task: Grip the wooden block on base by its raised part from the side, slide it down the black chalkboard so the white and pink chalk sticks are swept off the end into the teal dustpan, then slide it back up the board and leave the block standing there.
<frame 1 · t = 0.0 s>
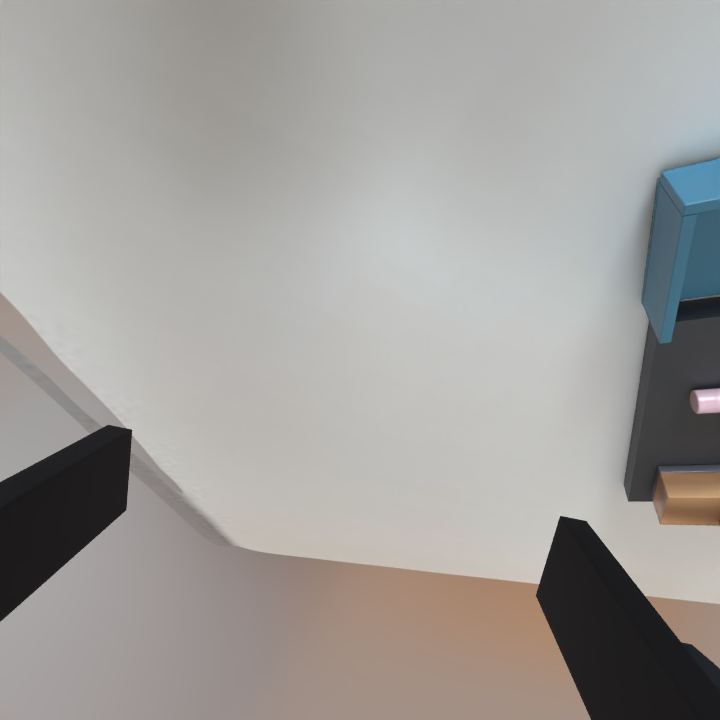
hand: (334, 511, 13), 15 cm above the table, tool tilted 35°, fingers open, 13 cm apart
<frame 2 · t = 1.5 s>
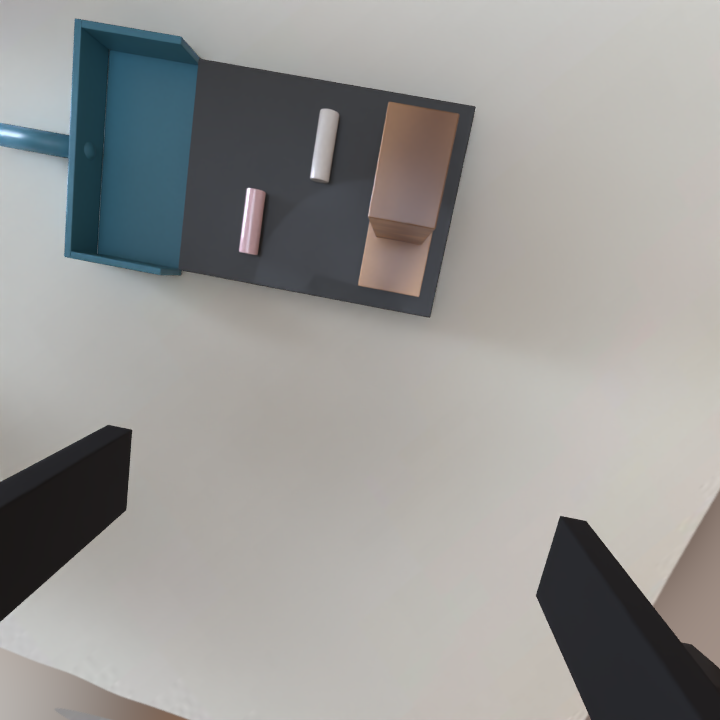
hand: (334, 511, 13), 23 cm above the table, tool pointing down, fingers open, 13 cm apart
chalk 2: (252, 222, 32), point 2 cm above the table, tilted 34°, touching chalkboard
chalkboard: (321, 196, 33), on the table
dustpan: (148, 165, 34), on the table
wooden block on base: (404, 209, 32), point 1 cm above the table, touching chalkboard
chalk 1: (324, 147, 31), point 2 cm above the table, tilted 9°, touching chalkboard
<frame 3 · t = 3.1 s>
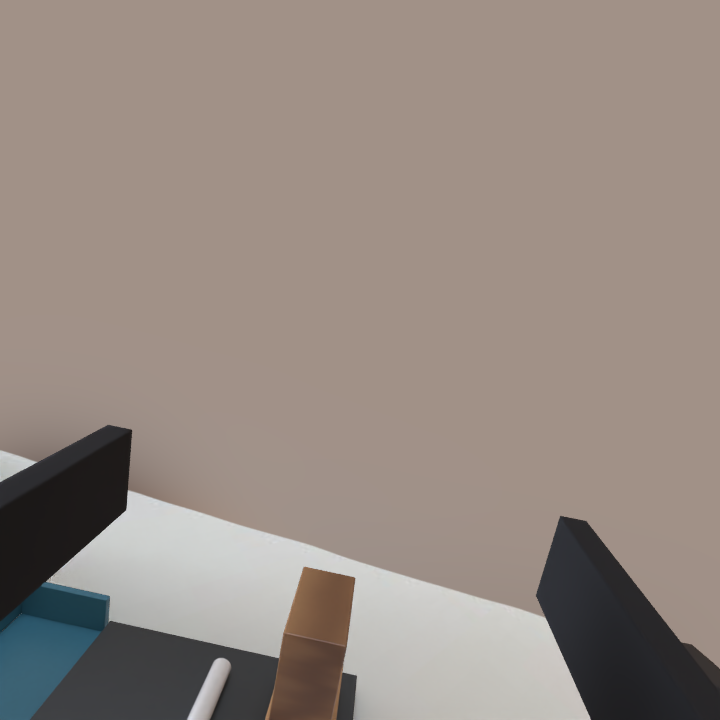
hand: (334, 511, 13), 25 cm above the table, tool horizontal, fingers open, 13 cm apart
chalk 1: (209, 695, 29), point 2 cm above the table, touching chalkboard
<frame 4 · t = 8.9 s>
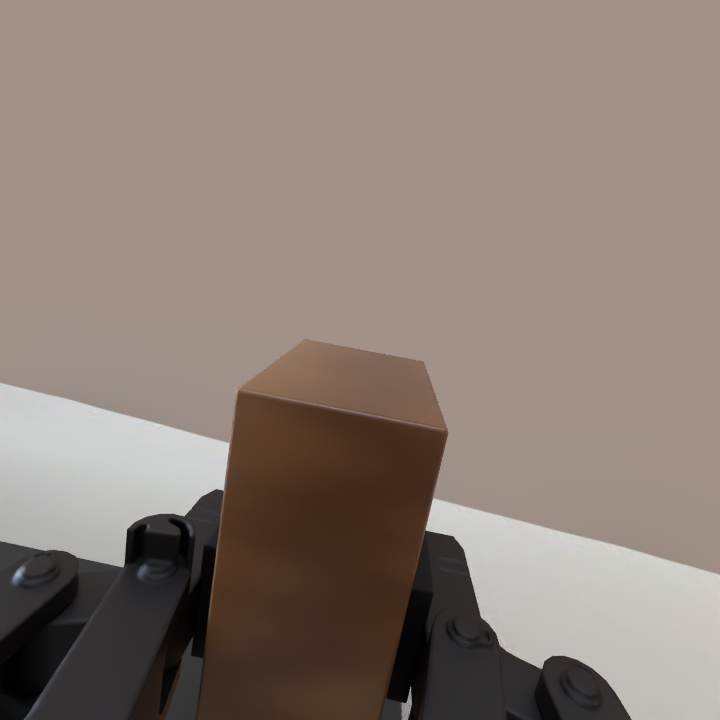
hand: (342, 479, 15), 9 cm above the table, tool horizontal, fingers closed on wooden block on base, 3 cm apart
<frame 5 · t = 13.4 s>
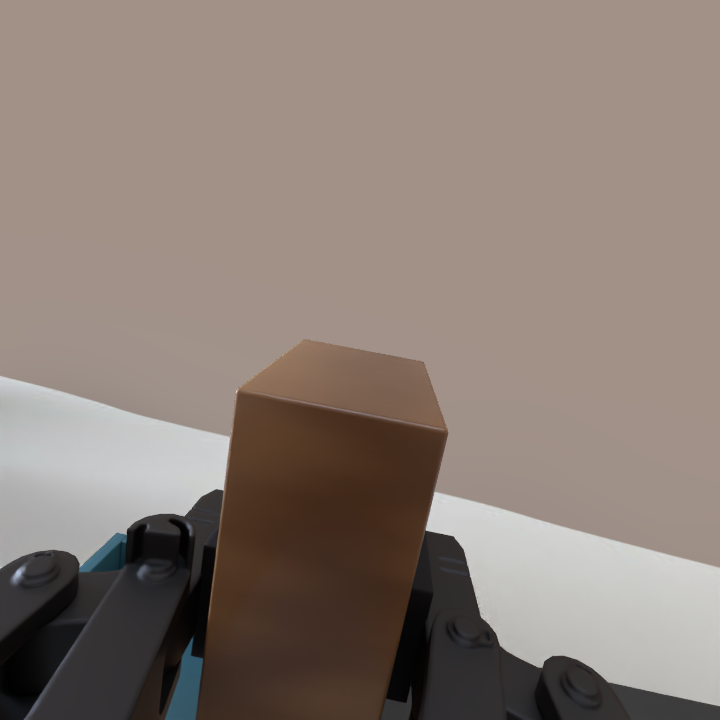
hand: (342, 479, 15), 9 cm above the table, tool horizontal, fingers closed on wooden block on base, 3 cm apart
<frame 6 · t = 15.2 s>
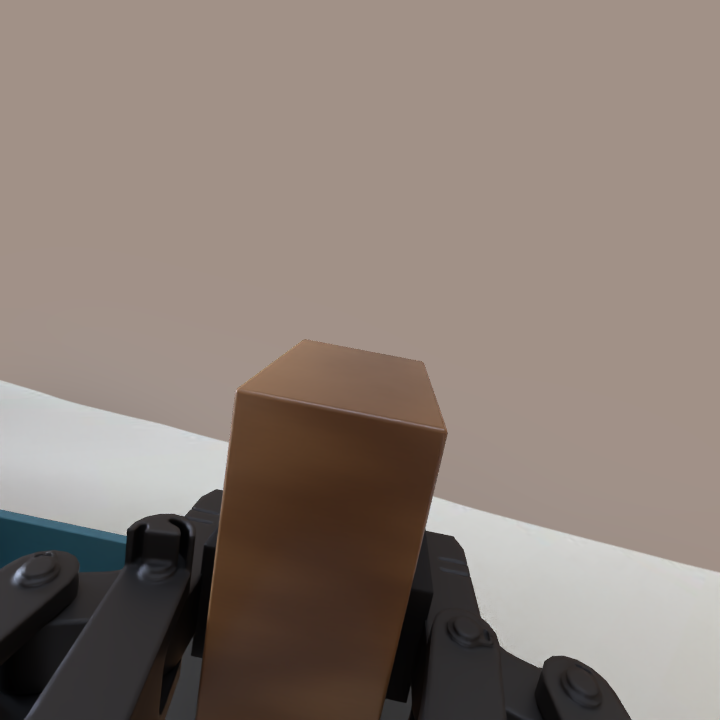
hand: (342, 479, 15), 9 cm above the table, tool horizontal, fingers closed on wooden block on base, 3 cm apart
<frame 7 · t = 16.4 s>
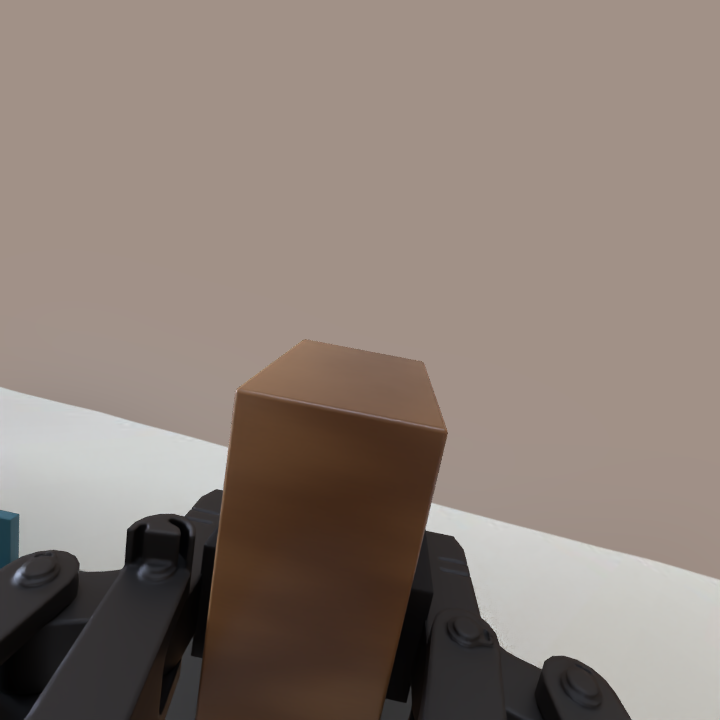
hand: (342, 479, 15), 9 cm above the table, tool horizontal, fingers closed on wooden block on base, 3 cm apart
when the fingers open (9 cm above the table, at t = 16.9 s): wooden block on base stays where it is, resting on chalkboard.
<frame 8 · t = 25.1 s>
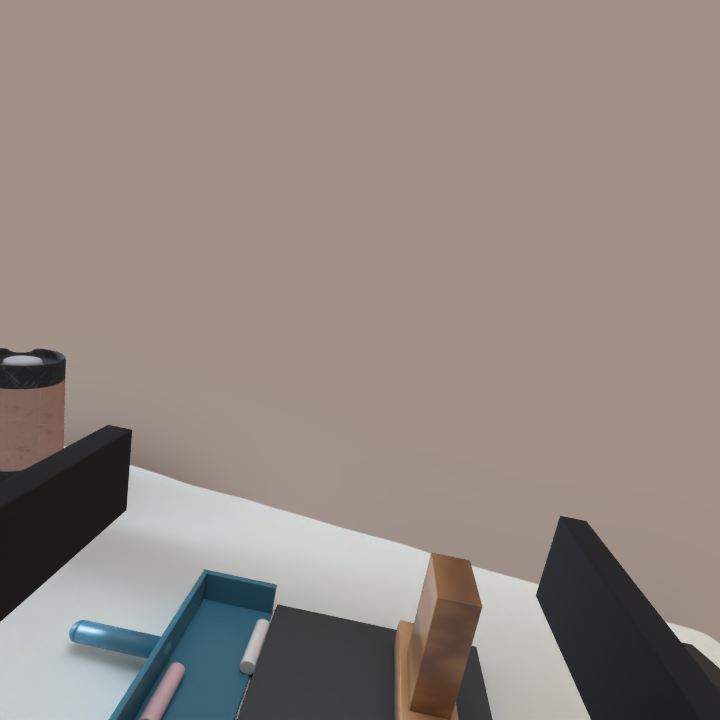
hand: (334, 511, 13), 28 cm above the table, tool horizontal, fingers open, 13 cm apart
chalk 2: (162, 695, 33), point 1 cm above the table, tilted 60°, touching dustpan
chalkboard: (369, 712, 36), on the table
dustpan: (205, 676, 36), on the table
wooden block on base: (420, 709, 35), point 1 cm above the table, touching chalkboard
travel mug: (20, 525, 50), on the table
chalk 1: (255, 645, 39), point 1 cm above the table, tilted 178°, touching dustpan
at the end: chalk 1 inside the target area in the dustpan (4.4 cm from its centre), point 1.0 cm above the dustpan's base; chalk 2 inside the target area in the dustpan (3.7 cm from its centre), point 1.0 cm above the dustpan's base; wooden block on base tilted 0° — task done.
